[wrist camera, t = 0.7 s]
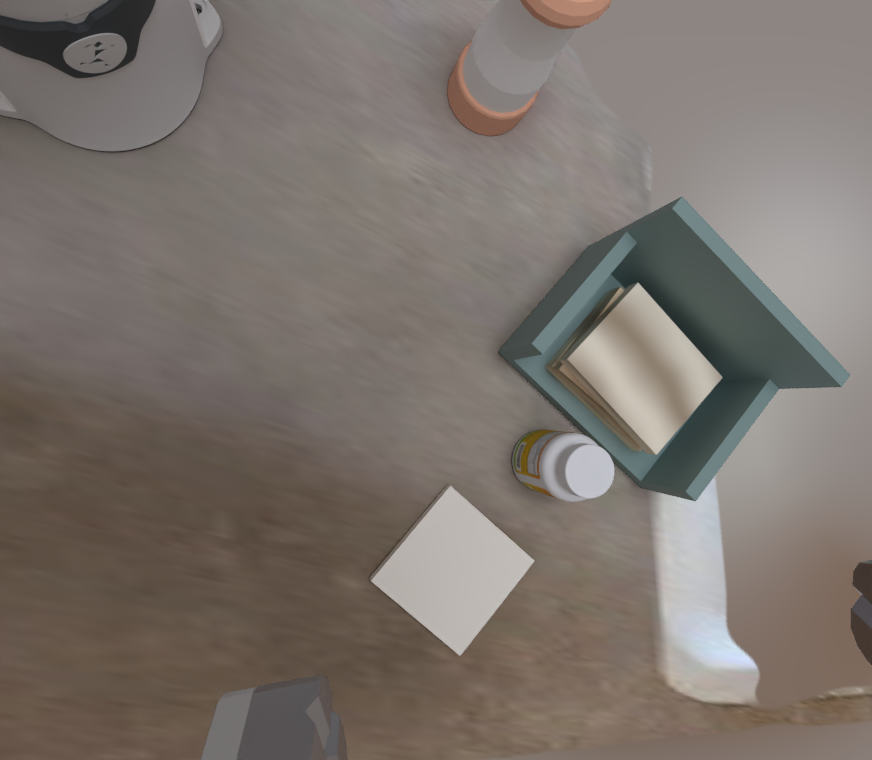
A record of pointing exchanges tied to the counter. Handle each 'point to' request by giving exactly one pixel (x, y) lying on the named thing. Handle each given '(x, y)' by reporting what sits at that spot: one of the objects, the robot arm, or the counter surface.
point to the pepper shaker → (513, 60)
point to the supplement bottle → (563, 465)
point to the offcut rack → (700, 322)
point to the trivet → (452, 569)
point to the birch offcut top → (641, 369)
